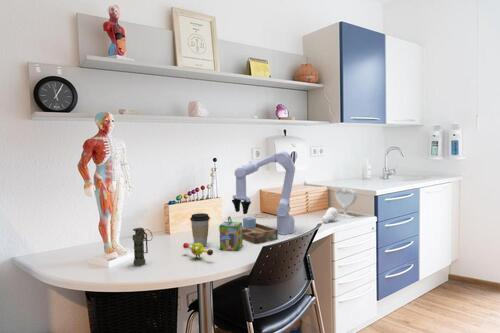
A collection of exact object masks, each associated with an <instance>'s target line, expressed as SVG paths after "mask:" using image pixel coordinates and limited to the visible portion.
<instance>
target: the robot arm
mask: <svg viewBox="0 0 500 333" xmlns="http://www.w3.org/2000/svg"><path fill="white" fill-rule="evenodd" d="M270 163H277V164H279V165H280V166H281V167H283V169H284V170H285V175H284V179H283V185H282V190H281V196H280V200H279V204H278V207H276V210H275V213H276V229H277V230H278V235H282V236H283V235H284V236H285V235H289V234H293V233H296V230H295V218H294V216H293V215H291V214H290V212H291V207H290V202H291V200H290V199H291V193H292V188H293V183H294V178H295V172H296V166H295V163H294V160H293V158H292V156H291V155H290V154H289V153H288V152H287V151H280V152H279V151H278V152H277V153H274V154H271V155H269V156H266V157H264V158H263V159H260V160H259V161H248V163H246V164H243V165H241V167H237V168H236V169H235V170H234V176H235V194H233V195H232V199H231V202H232V204H233V206H234V210H235V212H236V213H239V212H240V210H241V209H240V208H241V207H242V214H243V215H246V214H248V212H249V208H250V205H251V203H252V200H251V197H248V196H247V176H249V175H251V174H254V173H255V172H258V170H259V168H260V167H262V166H265V165H269V164H270Z"/></svg>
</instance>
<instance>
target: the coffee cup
mask: <svg viewBox="0 0 500 333" xmlns="http://www.w3.org/2000/svg"><path fill="white" fill-rule="evenodd" d="M189 220H190V222H191V225H190V226H191V232H192V238H193V244H195V243H200V244H202V245H203V248H204V247H206V246H208V236H209V226H210V225H209V222H210V221H209V220H211V217H210V216H209V214H208V213H203V212H200V213H199V212H198V213H194V214H191V217H190V218H189Z"/></svg>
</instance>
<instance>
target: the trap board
mask: <svg viewBox="0 0 500 333" xmlns="http://www.w3.org/2000/svg"><path fill="white" fill-rule="evenodd" d="M278 236H279V234H278V230H277V228H274V227H270V226H268V225H264V224H260V223H257V222H256V228H252V229H246V228H244V227H243V226H242V241H243V240H244V241H246V242H248V243H252V244H254V245H259V244H263V243H267V242H271V241H277V240H278V238H279V237H278Z"/></svg>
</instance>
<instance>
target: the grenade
mask: <svg viewBox="0 0 500 333" xmlns="http://www.w3.org/2000/svg"><path fill="white" fill-rule="evenodd" d="M132 231H134V234H133V235H132V241H133V254H134V257H133V258H134V260H133V263H132V264H133V266H134V267H142V266H144V265H146V258H145V254H148V252H149V250H148V242H149V241H150V242H151V241H152V240H153V233H152V231H151V230H150V229H145V228H144V227H136V228H135V227H134V228H133V229H132ZM146 231H148V232H149V233H150V235H151V239H150V240H149V239H148V233H147V232H146ZM144 242H145V244H144ZM144 247H145V248H144ZM144 249H145V250H144Z"/></svg>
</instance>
